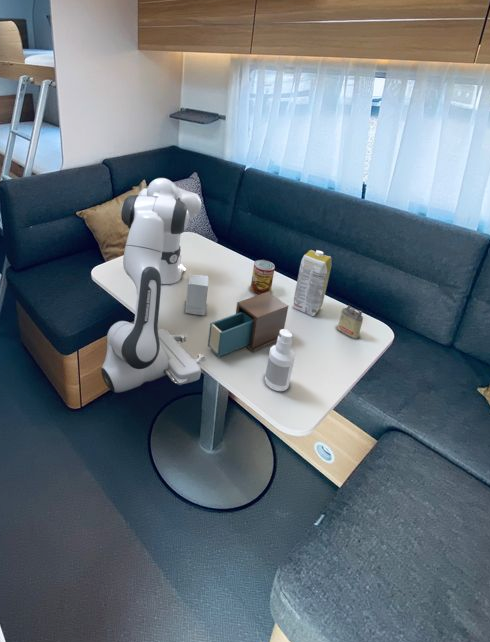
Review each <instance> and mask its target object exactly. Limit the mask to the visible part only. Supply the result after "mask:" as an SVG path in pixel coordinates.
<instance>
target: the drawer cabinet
mask: <svg viewBox="0 0 490 642" xmlns="http://www.w3.org/2000/svg"><path fill="white" fill-rule="evenodd" d="M235 308H236V309H235V314H237V313H240V312H243V311H244V312H245V313H246V314H248V315H249V316H250V317H251V318H253V319H254V322H253V329H252V335H251V341H250V344H249V345H246V346H245V347H246V348H248V349H249V350H250V351H251V352H255V351H257V350H259V349H262V348H264V347H266V346H269V345H271V344H274V343H277V339H278V336H279V333H280V330H281V329H285V326H286V322H287V321H286V320H287V315H288V311H289V305H288V304H286V303H285V302H284V301H282V300H281V299H279V298H278V297H277V296H275V295H273V293H269V292H266V293H263V294H260V295H254V296H251V297H249V298H245V299H243V300H239V301H237V302H236V307H235Z"/></svg>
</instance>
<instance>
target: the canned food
mask: <svg viewBox="0 0 490 642" xmlns="http://www.w3.org/2000/svg"><path fill="white" fill-rule="evenodd" d="M275 269H276V267H275V264H274V263H273V262H271V261H269V260H265V259H257V260H255V261H254V262H253V268H252V276H251V283H250V291H251V293H252V294H254V295H255V296H257V295H260V294H263V293H266V292H269V293H271V292H272V286H273V282H274V281H273V280H274V276H275V275H274V273H275ZM271 294H272V293H271Z"/></svg>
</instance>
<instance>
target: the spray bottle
mask: <svg viewBox="0 0 490 642" xmlns="http://www.w3.org/2000/svg"><path fill="white" fill-rule="evenodd" d="M292 343H293V334H292V332H291V330H289V329H286V328H284V329H281V330H280V333H279V336H278V339H277V341H276V342H275V344H273V345H272V346H271V347H270V348H269V353H268V359H267V363H266V369H265V374H264V381H265V384H266V386H267V387H268V388H269V389H271V390H273V391H276V392H283V391H287V390H288V389H289V387H290V382H291V377H292V372H293V367H294V362H295V358H296V357H295V355H296V354H295V352H294V351H293V350H292Z"/></svg>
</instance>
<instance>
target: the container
mask: <svg viewBox="0 0 490 642" xmlns="http://www.w3.org/2000/svg"><path fill="white" fill-rule="evenodd" d="M253 322H254V319H253V318H251V317H250V316H249V315H248V314H246V313H245V312H244V311H243V312H240V313H237V314H236V313H235V314H232V315H229V316H227V317H223V318H221V319H218V320H215V321H213V322H210V323H209V331H208V341H207V347H208V348H209V349H210V350H211V351H212V352H213V353H214V354H215V355H216V356H217V357H219V358H220V357H222V356H225V355H227V354H230V353H232V352H234V351H236V350H239V349H241V348H244V347H247V346H246V345H249V344H250V341H251V335H252V329H253Z"/></svg>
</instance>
